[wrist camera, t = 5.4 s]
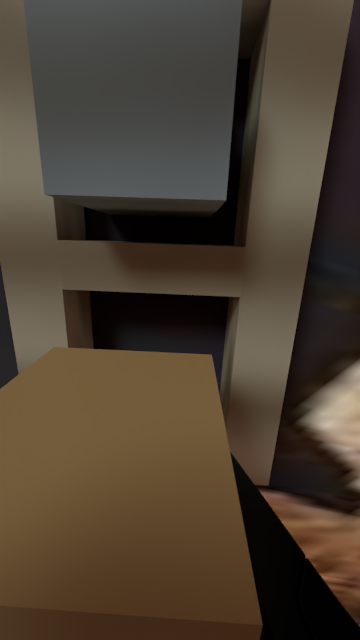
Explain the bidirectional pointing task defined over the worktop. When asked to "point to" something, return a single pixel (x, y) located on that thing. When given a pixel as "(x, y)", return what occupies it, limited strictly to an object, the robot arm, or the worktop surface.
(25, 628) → the block
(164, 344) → the worktop surface
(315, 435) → the worktop surface
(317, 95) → the puzzle frame
